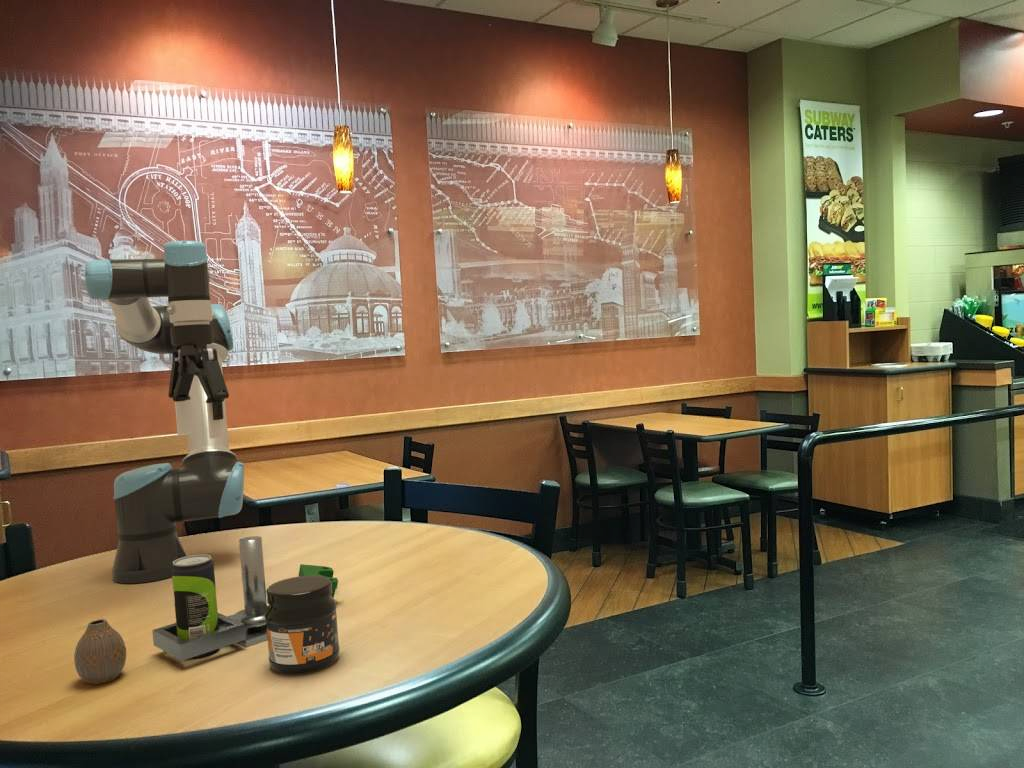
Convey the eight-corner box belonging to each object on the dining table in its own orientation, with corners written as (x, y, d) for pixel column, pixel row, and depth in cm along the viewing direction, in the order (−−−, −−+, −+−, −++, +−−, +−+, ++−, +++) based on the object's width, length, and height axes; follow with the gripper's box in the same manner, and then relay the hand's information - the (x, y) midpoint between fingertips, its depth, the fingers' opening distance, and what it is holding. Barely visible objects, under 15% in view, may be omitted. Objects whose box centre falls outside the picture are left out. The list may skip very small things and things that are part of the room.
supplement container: (273, 683, 116) (267, 601, 116) (265, 657, 126) (258, 581, 125) (347, 667, 120) (341, 587, 120) (333, 643, 130) (327, 570, 129)
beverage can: (228, 645, 132) (221, 554, 131) (202, 660, 126) (194, 566, 125) (197, 642, 134) (190, 553, 133) (170, 657, 128) (162, 564, 127)
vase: (88, 671, 125) (83, 615, 124) (135, 667, 125) (130, 611, 125) (68, 691, 118) (62, 632, 117) (117, 686, 118) (111, 628, 118)
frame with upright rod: (154, 654, 130) (145, 556, 129) (266, 618, 144) (259, 529, 143) (182, 670, 123) (173, 566, 122) (297, 630, 137) (290, 537, 136)
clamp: (329, 628, 150) (339, 588, 147) (296, 625, 148) (306, 586, 145) (326, 586, 160) (336, 548, 157) (295, 583, 158) (304, 545, 155)
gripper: (144, 327, 159) (154, 435, 161) (202, 321, 142) (212, 442, 143) (182, 326, 165) (191, 430, 166) (242, 320, 147) (251, 436, 149)
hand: (200, 436), depth 155 cm, fingers open, 13 cm apart
